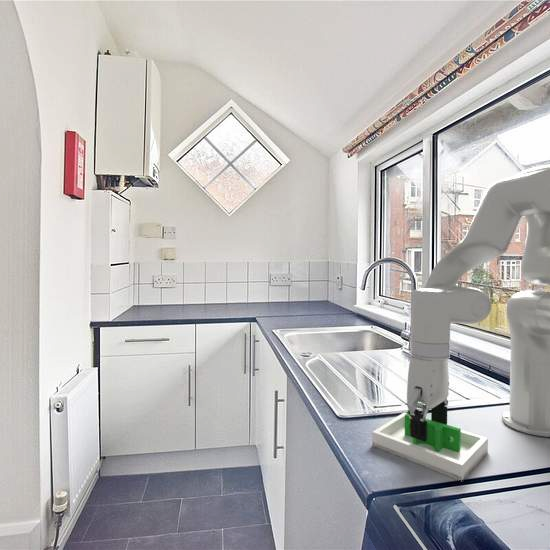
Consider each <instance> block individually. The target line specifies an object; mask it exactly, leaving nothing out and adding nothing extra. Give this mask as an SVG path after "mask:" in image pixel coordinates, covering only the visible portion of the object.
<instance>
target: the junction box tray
mask: <svg viewBox="0 0 550 550" xmlns="http://www.w3.org/2000/svg"><path fill="white" fill-rule="evenodd" d="M407 413H408V412H402V413H401V414H399V415H397V416H396V417H394V418H392V419H391V420H389V421H388V422H386V423H385V424H383V425H381V426H379V427H378V428H376V429H375V430H373V431H371V432H372V434H371V437H372V440H371V441H372V445H371V446H372V447H375V448H377V449H379V450H383V451H384V452H387V453H389V454H392V455H395V456H398V457H400V458H402V459H405V460H407V461H410V462H412V463H414V464H417V465H420V466H422V467H424V468H428V469H429V470H432V471H435V472H437V473H440V474H442V475H445V476H447V477H449V476H450V478H452V477H453V478H452V479H454V478H455V480H457V479H459V480H461V481H460V482H463V481H464V480H465V479H466V478H467V477H468V475H469V474H470V473H471V472H472V471H473V470H474V469H475V467H477V466H478V464H479V463H480V462H481V461H482V460H483V458H484V457H485V456H486V455H488V451H489V449H488V448H489V447H488V446H489V438H488V437H485V436H482V435H479V434H476V433H473V432H470V431H467V430H463V429H461V445H460V452H459V453H458V452H455V451H452V450H449V449H446V448H442V449H441V450H440V451H439V452H436V451H435V448H434V447H433V446H431V445H429V444H424V443H420V444H417V445H415V444H413V438H412V437H410V436H407V435H405V414H407ZM450 438H451V439H452V440H454V439H453V437H451V436H450ZM473 468H474V469H473ZM472 469H473V470H472ZM471 470H472V471H471ZM469 472H470V473H469ZM468 473H469V474H468ZM465 477H466V478H465ZM464 478H465V479H464ZM463 479H464V480H463ZM459 480H458V481H459ZM462 480H463V481H462Z"/></svg>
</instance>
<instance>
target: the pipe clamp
mask: <svg viewBox="0 0 550 550" xmlns="http://www.w3.org/2000/svg"><path fill="white" fill-rule="evenodd" d="M406 413H407V414H405V435H407V436H410V418H409V413H408V412H406ZM425 421H427V441H425V442H424V441H421V440H418V439H415V438H413V444H415V445H417V444H420V443H424V444H429V445H431V446H433V447H434V448H435V451H436V452H439V451H440V450H441V449H442V448H446V449H449V450H452V451H455V452H458V453H459V452H460V445H461V430H462V429H461V428H458V427H456V426H452V425H448V424H447V425H446V424H442V423H439V422H435V421H432V420H431V419H428V418H426V419H425ZM450 436H451V437H453V439H454V440H452V439H451V438H450ZM410 437H411V436H410Z"/></svg>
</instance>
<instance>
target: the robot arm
mask: <svg viewBox="0 0 550 550" xmlns="http://www.w3.org/2000/svg"><path fill="white" fill-rule="evenodd" d="M523 217H524V218H525V222H526V236H525V241H524V247H523V254H522V259H521V266H520V267H521V268H520V271H521V276H522V279H523V280H524V281H525V282H527V283H528V284H531V285H535V286H545V287H550V163H549V164H544V165H540V166H536V167H532V168H529V169H525V170H523V171H520V172H518V173H517V174H515V175H514V176H511V177H506V178H503V179H498V180H497V181H494V182H493V183H491V184H490V185H489V186H488V187H487V188H486V190H485V192H484V194H483V196H482V199H481V201H480V203H479V205H478V207H477V209H476V212H475V214H474V216H473V219H472V221H471V223H470V225H469V228H468V230H467V232H466V234H465V236H464V237H463V239H462V240H461V241H460V242H459V243H457V244H456V245H455V246H454V247H453V248H451V249H450V250H449V251H448V252H447V253H446V254H445V255H444V256H443V257H442V258H441V259H440V260H439V261H438V262H437V263H436V265H435V266H434V267H433V269H432V271H431V273H430V275H429V277H428V279H427V281H426V283H425V286H424V288H417V289H414V290H412V292H411V294H410V347H409V348H410V349H409V350H410V353H409V354H410V356H411V357H410V361H409V364H408V365H409V366H408V373H407V384H406V385H407V386H406V387H407V388H406V405H407V413H408V414H409V418H410V436H411V437H412V438H415V439H418V440H421V441H424V442H425V441H427V421H425V419H427V415H428V412H429V410H431V411H430V412H431V414H430V415H431V418H430V420H432V421H435V422H439V423H442V424H446V425H448V405H449V401H448V396H449V391H450V390H449V388H450V387H449V386H450V381H449V378H450V377H449V362H448V360H450V358H451V325H452V324H463V325H464V324H465V325H474V324H478V323H481V322H483V321H484V320H486V319H487V318H488V316H489V315H490V313H491V311H492V301H491V298H490V297H489V295H488V294H487V293H486V292H484V291H482V290H481V289H479V288H477V287H469V286H459V285H457V284H458V283H459V281H460V280H461V279H462V277H464V276H465V275H466V274H468V272H470V271H472V270H473V269H476V268H477V267H480V266H481V265H484V264H486V263H489V262H492V261H494V260H495V259H497V258H499V257H501V256H504V254H505V253H506V252H507V251H508V249H509V246H510V244H511V241H512V239H513V237H514V234H515V232H516V229H517V227H518V225H519V223H520V220H521V219H522V218H523ZM505 311H506V319H507V323H508V329H509V336H510V360H509V361H510V363H509V365H510V366H509V367H510V368H509V369H510V371H509V373H510V374H509V409H508V410H506V411H503V412H502V414H501V420H502V421H503V423H504V424H506V426H508V427H509V428H512V429H514V430H516V431H519V432H521V433H526V434H529V435H531V436H536V437H537V436H538V437H544V438H545V437H547V438H550V291H544V290H542V291H541V290H523V291H519V292H516V293H515V294H514V293H513V295H512V296H511V297H510V298H508V300H507V304H506V309H505ZM419 409H421V410H422V411H420V410H419Z"/></svg>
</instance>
